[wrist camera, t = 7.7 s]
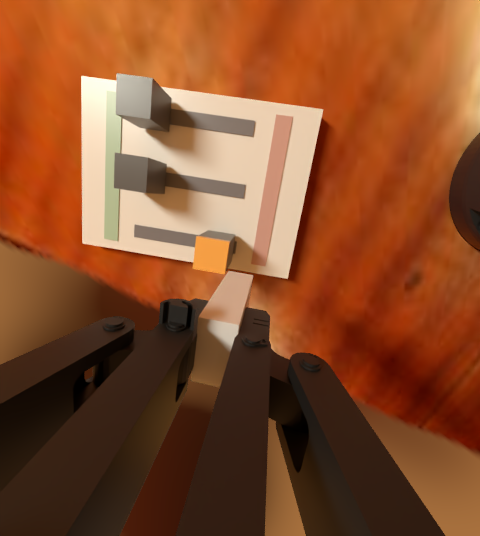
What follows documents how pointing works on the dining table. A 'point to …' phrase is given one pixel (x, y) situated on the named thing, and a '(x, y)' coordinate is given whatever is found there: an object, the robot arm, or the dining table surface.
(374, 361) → the dining table surface
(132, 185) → the handle middle
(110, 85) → the panel
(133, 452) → the robot arm
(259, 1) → the dining table surface
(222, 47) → the dining table surface
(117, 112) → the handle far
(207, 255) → the handle
